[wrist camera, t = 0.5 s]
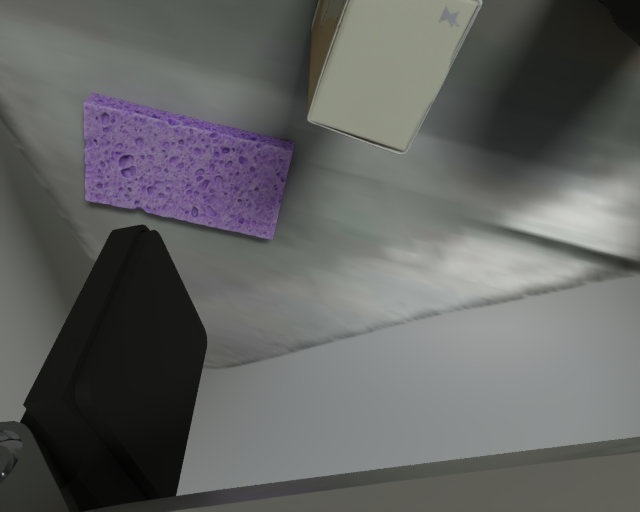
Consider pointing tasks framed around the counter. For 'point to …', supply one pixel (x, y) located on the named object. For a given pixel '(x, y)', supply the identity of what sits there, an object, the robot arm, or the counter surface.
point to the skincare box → (382, 65)
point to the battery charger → (626, 16)
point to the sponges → (183, 167)
